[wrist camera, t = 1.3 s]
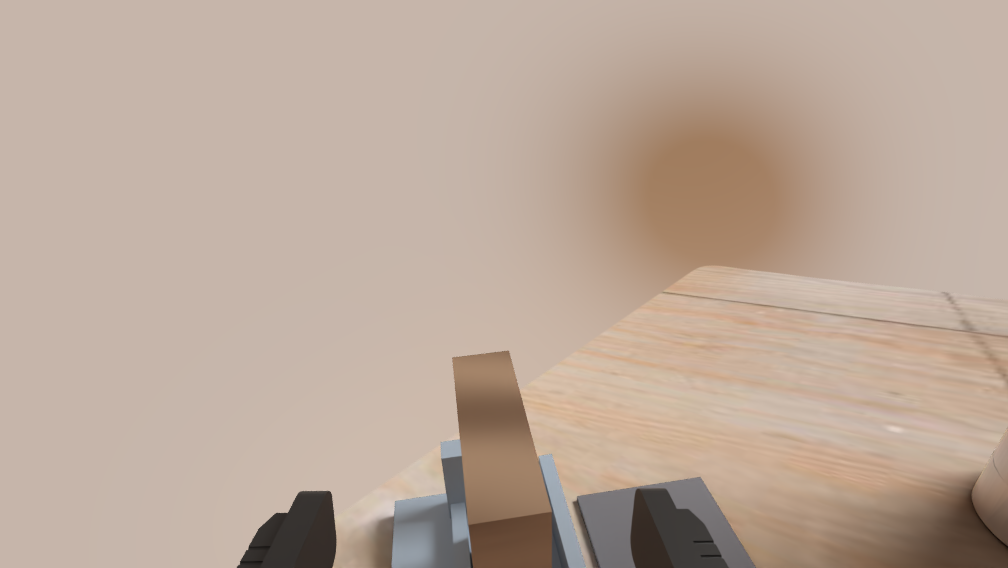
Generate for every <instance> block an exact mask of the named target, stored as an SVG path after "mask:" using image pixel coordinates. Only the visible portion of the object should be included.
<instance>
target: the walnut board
mask: <svg viewBox="0 0 1008 568" xmlns="http://www.w3.org/2000/svg"><path fill="white" fill-rule="evenodd" d="M452 359H453V369H454V379H455V391H456V401H457V410H458V411H457V412H458V422H459V433H460V444H461V454H462V465H463V475H464V486H465V496H466V507H467V517H468V527H469V536H470V544H471V553H472V562H473V568H552V510H551V507H550V503H549V499H548V495H547V492H546V488H545V484H544V480H543V477H542V473H541V469H540V465H539V462H538V458H537V454H536V450H535V447H534V443H533V439H532V435H531V432H530V428H529V424H528V421H527V417H526V413H525V409H524V406H523V402H522V398H521V394H520V391H519V387H518V384H517V379H516V376H515V372H514V368H513V364H512V361H511V358H510V353H509V351H502V352H494V353H486V354H478V355H470V356H462V357H453V358H452Z"/></svg>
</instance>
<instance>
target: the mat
mask: <svg viewBox="0 0 1008 568" xmlns="http://www.w3.org/2000/svg"><path fill="white" fill-rule="evenodd" d="M638 488H665V489H667V491H668V492H669V494H670V496H671V498H672V500H673V502H674V504H675V506H676V508H677V509H689V510H690V511H691V512H692V513H693V514H694V515H696V516H697V517H698V518H699V519H700V520H701V521H702V522H703V523H704V524H705V526H706V528H707V529H708V531H709V533H710V535H711V537H712V538H713V540H714V544H716V546H717V547H718V549H719V551H720V553H721V555H722V558H724V560H725V562H726V564H727V565H728V567H729V568H756V567H755V565H754V564H753V562H752V560H751V559H750V557H749V555H748V554H747V552H746V551H745V549H744V547H743V546H742V544H741V542H740V541H739V539H738V538H737V536H736V534H735V533H734V531H733V529H732V528H731V526H730V524H729V523H728V521H727V520H726V518H725V516H724V515H723V513H722V511H721V510H720V508H719V507H718V505H717V503H716V502H715V500H714V498H713V497H712V495H711V493H710V492H709V490H708V489H707V487H706V485H705V484H704V482H703V480H702V479H701V477H697V478H691V479H684V480H678V481H672V482H665V483H659V484H653V485H646V486H640V487H633V488H627V489H621V490H614V491H608V492H601V493H595V494H589V495H582V496H577V501H578V504H579V507H580V510H581V513H582V516H583V519H584V522H585V526H586V529H587V532H588V535H589V538H590V541H591V544H592V547H593V550H594V553H595V556H596V559H597V562H598V565H599V568H636V567H635V564H634V561H633V557H632V552H631V544H630V534H631V524H632V515H633V506H634V497H635V491H636V489H638Z"/></svg>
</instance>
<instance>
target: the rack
mask: <svg viewBox="0 0 1008 568" xmlns="http://www.w3.org/2000/svg"><path fill="white" fill-rule="evenodd" d="M441 459H442V466H443V473H444V480H445V487H446V494H439V495H432V496H426V497H419V498H413V499H406V500H399V501H395V511H394V530H393V549H392V568H473V562H472V553H471V544H470V536H469V527H468V517H467V507H466V496H465V486H464V475H463V465H462V454H461V444H460V439H459V440H452V441H445V442H441ZM539 465H540V469H541V473H542V477H543V480H544V484H545V488H546V492H547V495H548V499H549V503H550V507H551V510H552V568H586V565H585V562H584V559H583V556H582V552H581V549H580V546H579V542H578V539H577V536H576V532H575V529H574V526H573V523H572V519H571V516H570V513H569V509H568V506H567V503H566V499H565V496H564V493H563V490H562V486H561V483H560V480H559V476H558V473H557V470H556V466H555V463H554V460H553V457H552V454H549V455H542V456H539Z"/></svg>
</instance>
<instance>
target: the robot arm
mask: <svg viewBox="0 0 1008 568" xmlns="http://www.w3.org/2000/svg"><path fill="white" fill-rule="evenodd" d="M972 502H973V505H974V507H975V510H976V512H977V514H978V515H979V517H980V518H981V520H982V521H983V523H984V524H985V525H986V526H987V527H988V528H989V529H990V530H991V531H992V533H993V534H994V535H995V536H996V537H997V538H999V539H1000V540H1001V541H1002V542H1003V543H1005V544H1006V545H1007V546H1008V428H1007V429H1006V431H1005V433H1004V435H1003V437H1002V438H1001V440H1000V442H999V444H998V445H997V447H996V448H995V450H994V452H993V454H992V455H991V457H990V459H989V461H988V462H987V464H986V466H985V468H984V469H983V471H982V473H981V475H980V476H979V478H978V480H977V482H976V484H975V485H974V488H973V490H972ZM630 544H631V552H632V557H633V561H634V564H635V567H636V568H729V567H728V565H727V564H726V562H725V560H724V558H722V555H721V553H720V551H719V549H718V547H717V546H716V544H714V540H713V538H712V537H711V535H710V533H709V531H708V529H707V528H706V526H705V524H704V523H703V522H702V521H701V520H700V519H699V518H698V517H697V516H696V515H694V514H693V513H692V512H691V511H690V510H689V509H677V508H676V506H675V504H674V502H673V500H672V498H671V496H670V494H669V492H668V491H667V489H665V488H638V489H636V491H635V497H634V506H633V515H632V524H631V534H630ZM335 553H336V530H335V520H334V510H333V501H332V494H331V492H330V491H302V492H299V493H298V495H297V496H296V498H295V500H294V502H293V504H292V506H291V508H290V510H289V512H288V513H276V514H274V515H273V516H272V517H271V518H270V519H269V520H268V521H267V522H266V523H265V524H263V525H262V526H261V527H260V528H259V529H258V531H257V533H256V535H255V537H254V538H253V540H252V542H251V543H250V545H249V549H248V550H246V552H245V554H244V556H243V558H242V559H241V561H240V565H238V566H237V568H332V566H333V563H334V559H335Z"/></svg>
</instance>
